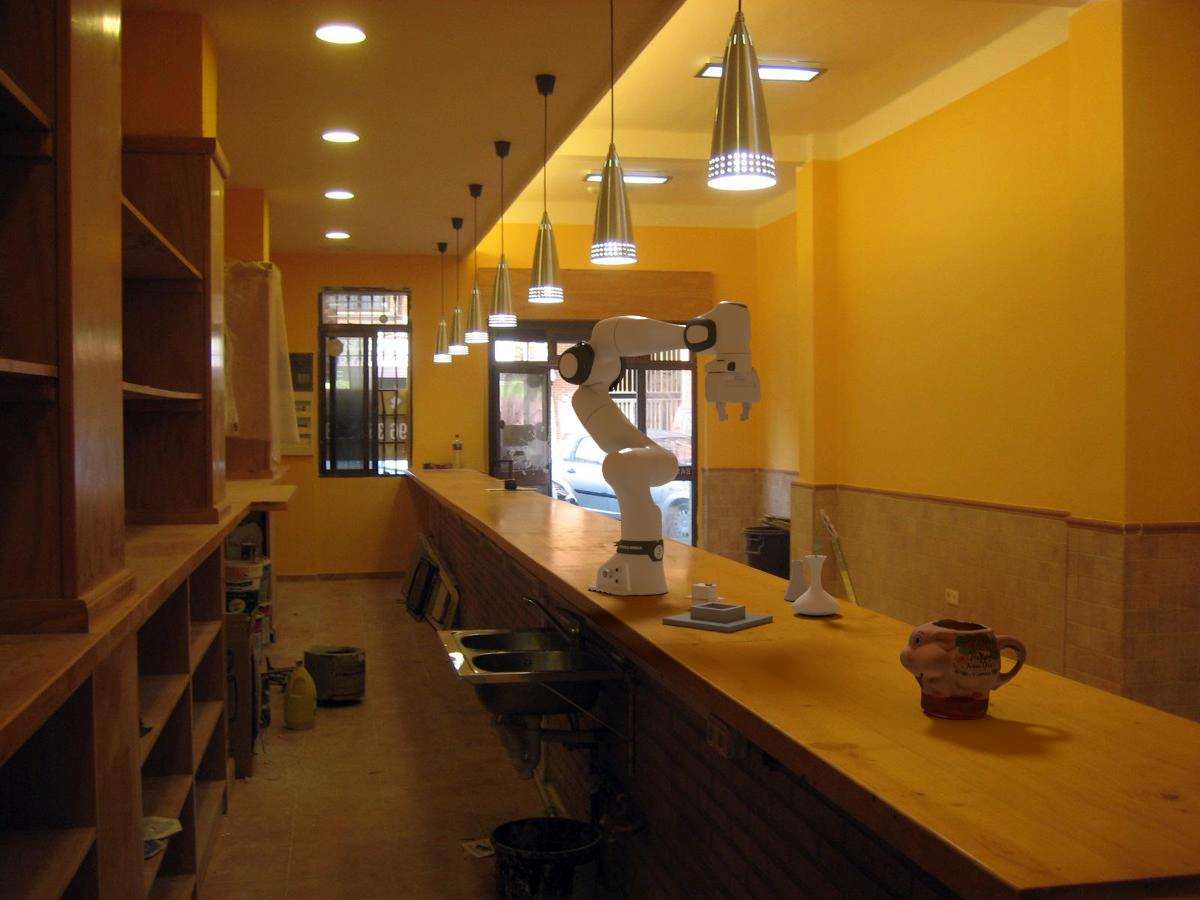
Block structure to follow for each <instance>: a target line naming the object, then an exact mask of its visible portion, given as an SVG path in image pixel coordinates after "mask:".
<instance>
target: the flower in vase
mask: <svg viewBox="0 0 1200 900" xmlns="http://www.w3.org/2000/svg"><path fill="white" fill-rule="evenodd" d="M819 513H820V515H821V519H822V520H823V525H822V526H821V529H820V531H819V533H818V536H817V538H816V541H815V542H814V543H813V545H812V546H811V548H810V550H812V551H815V554H810V555H805V558H806V560H807V562H808V564H809V569H810V576H811V577H810V580H811V581H810V586H809V587H808V591H806V592H805V593H804V594H803V595H802V596H800V597H799V598H798V599H797V600H796V601H793V603H792V604H791V608H792V610H793V611H795V612H796V613H799V614H802V615H807V616H829V615H834V614H836V613H838V612H840V610H841V605H840V603H839V602H838V601H837V600H836V599H835V598H834V597H832V596H831V595H830V594H829V593H828V592H827V591H826V590H824V588H823V586H822V581H821V579H822V577H821V576H822V568H823V564H824V562H825V560H826V559H827V555H820V554H819V555H818V550H820V549H821V550H823V551H824V549H825V546H824V544H823V542H822V540H820V536H821V534H822V533H823V530H824V529H825V528H827V530H828V531H829V533H830V534H831V536H832V537H834V538H835V539H838V532H837V531H836V530H835V525H834V524H833V523H831V520H830V516H829V515H827V514H826V511H825V509H824V508H820V509H819Z"/></svg>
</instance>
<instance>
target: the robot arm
mask: <svg viewBox="0 0 1200 900" xmlns="http://www.w3.org/2000/svg"><path fill="white" fill-rule="evenodd" d="M749 309H750V308H749V307H748V306H747V305H746V304H744V303H741V302H734V301H724V300H723V301H720V302H718V303H717V304H716V306H715V307H714V308H712V309H711V310H710V311H708V312H706V313H704V314H702V315H699V316H695V317H692V318H691V319H689V320H688V321H687V323H686V324H685V325H682V324H681V325H680V324H674V323H670V322H665V321H661V320H658V319H653V318H649V317H645V316H638V315H621V316H620V315H619V316H614V317H609V318H605V319H601V320H599V321H598V322H597V323H596V324H595V325H594V327H593V328H592V332H591V337H590V338H591V339H590V340H588V342H587V341H585V340H580V341H579V342H577V343H575V345H573V346H571V347H569V348H567V349H565V350H564V351H562V352H561V355H560V356H559V359H558V362H557V369H558V374H559V375H560V378H561V379H562V380H563V381H565V382H566V383H568V384H570V385H574V386H578V387H577V389H576V390H575V391H574V393H572V396H571V399H570V401H571V402H570V403H571V407H572V408H573V412H574V413H575V415H576V418H577V419H578V421H579V422H580V423H581V424H580V425H582V427H583V428H584V429H585V431H586V432H587V433H588V434H589V435H590V438H591V439H593V441H594V443H596V445H597V446H598V447H599V449H600V450H602V452H604V453H606V456H605V457H604V458H603V460H602V464H601V465H602V466H601V473H602V477H603V479H604V481H605V483H607V485H609V486H610V487H611V489H612V490H613V492H614V495H615V497H616V500H617V504H618V508H619V512H620V533H621V534H620V537H621V538H620V539H619V540H618V541H614V542H612V543H613V544H614V545H613V546H612V547H617V548H616V550H615V553H614V554H613V555H611V556H610V557H609V558H608V559H607V560H606V561H605V562H603V563H602V564H601V565H600V566H599V568H598V569H597V575H596V581H595V582H596V583H593V584H589V585H588V587H587V589H591V590H590V591H593V590H596V591H595V592H599V591H601V592H600V593H604V592H606V594H610V593H611V594H610V595H617V596H645V595H646V596H647V595H659V594H665V593H668V592H669V589H668V584H667V579H666V575H665V568H664V553H665V549H664V548H665V547H664V545H665V542H664V538H663V513H662V510H661V507H660V506H659V505H657V504H656V503H655V501H654V498H653V497H652V493H651V488H659V487H662V486H665V485H667V484H670V483H671V482H673V481H674V480H675V479H676V477H677V475H678V473H679V469H680V465H679V459H678V457H677V456H676V454H675V453H674V452H673V451H672V450H669V449H667V448H665V447H663V446H661V445H660V444H658V443H656V442H655V440H652V439H651V438H650V437H649V436H648V435H646V434H645V433H644V432H643V431H641V430H640V429H639V428H637V426H635V424H634V423H632V422H631V420H630V419H629V418H628V417H627V415H626V414H625V413H624V412H623V411H622V409H621V408H620V406H618V405H617V403H616V402H615V401H614V400H613V399H612V397H611V396H610V392H614V391H615V390H617V388H618V386H619V384H620V383H621V382H622V381H623V378H624V377H625V375H626V373H627V368H628V365H627V363H628V362H627V357H633V358H634V357H640V356H642V357H643V356H647V355H653V354H659V353H664V352H669V351H676V350H688V351H690V352H692V353H695V354H698V355H710V356H715V359H712V360H711V361H708V362H707V363H705V364H704V368H703V369H704V370H703V371H704V373H706V374H705V377H704V398H705V399H706V401H707V403H714V404H715V409H716V411H717V414H718V421H719V422H727V421H728V420H729V419H728V417H729V415H728V413H726V407H727V403H728V404H729V403H730V404H732V403H733V404H735V403H736V404H738V403H739V404H741V408H742V411H741V413H740V414H739V420H740V421H741V422H748V421H749V420H750V413H751V410H752V408H753V407H752V406H753V404H758V403H760V402H761V399H762V389H761V381H760V376H759V375H758V372H757V370H756V369H755V367H753V366H752V349H751V340H752V318H751V312H750V310H749Z"/></svg>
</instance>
